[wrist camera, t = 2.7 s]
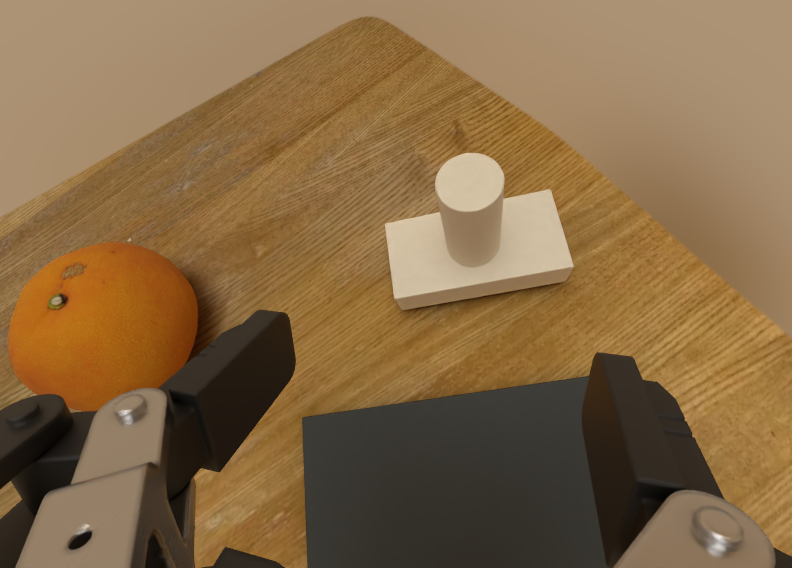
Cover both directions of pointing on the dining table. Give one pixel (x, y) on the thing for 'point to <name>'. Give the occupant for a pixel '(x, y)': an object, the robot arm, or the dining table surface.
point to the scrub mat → (454, 483)
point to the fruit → (102, 325)
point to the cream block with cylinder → (476, 239)
